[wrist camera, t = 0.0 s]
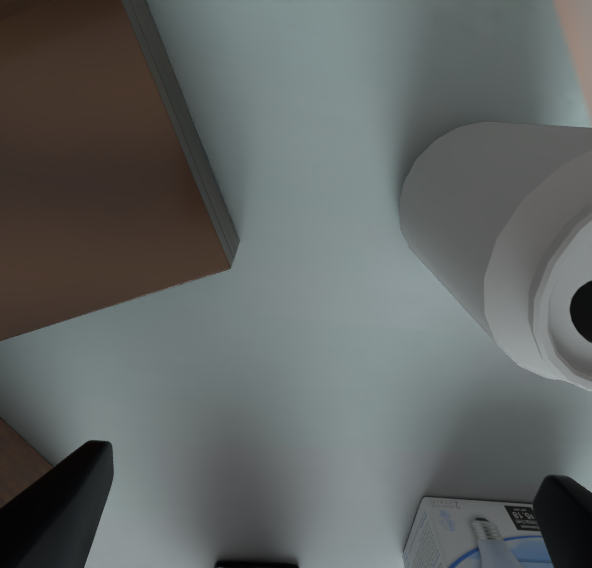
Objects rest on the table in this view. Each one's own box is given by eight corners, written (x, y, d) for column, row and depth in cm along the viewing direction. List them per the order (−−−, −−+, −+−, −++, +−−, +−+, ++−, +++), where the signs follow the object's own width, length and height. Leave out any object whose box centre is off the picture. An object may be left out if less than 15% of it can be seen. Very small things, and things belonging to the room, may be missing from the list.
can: (364, 219, 21) (450, 336, 10) (463, 86, 19) (709, 57, 8) (469, 292, 23) (638, 458, 12) (571, 179, 21) (894, 257, 10)
